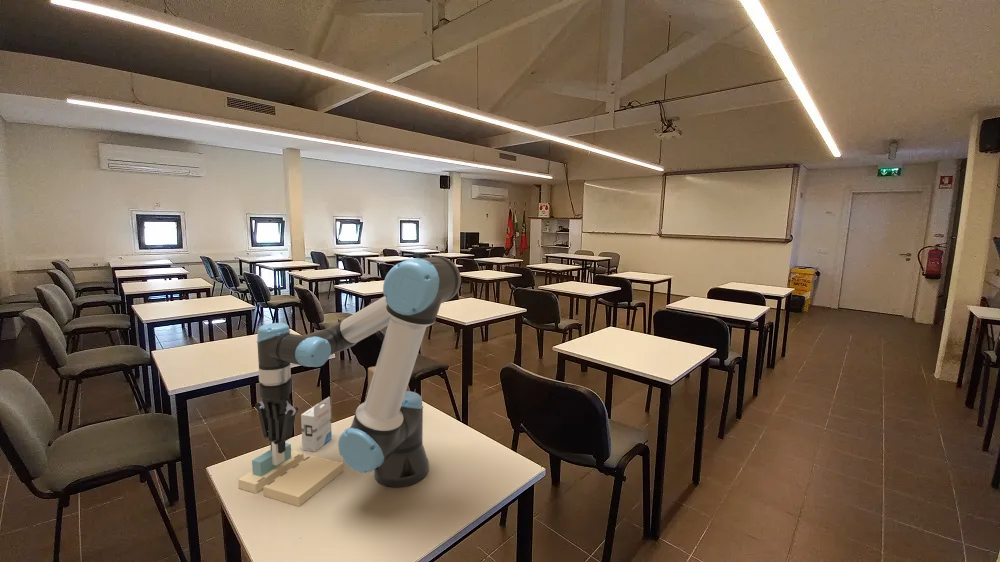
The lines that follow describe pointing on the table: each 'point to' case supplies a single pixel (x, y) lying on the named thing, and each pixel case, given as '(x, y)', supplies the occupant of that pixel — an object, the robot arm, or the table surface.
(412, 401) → the robot arm
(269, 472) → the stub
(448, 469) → the table surface
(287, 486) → the beige flat slab
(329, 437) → the ink box
